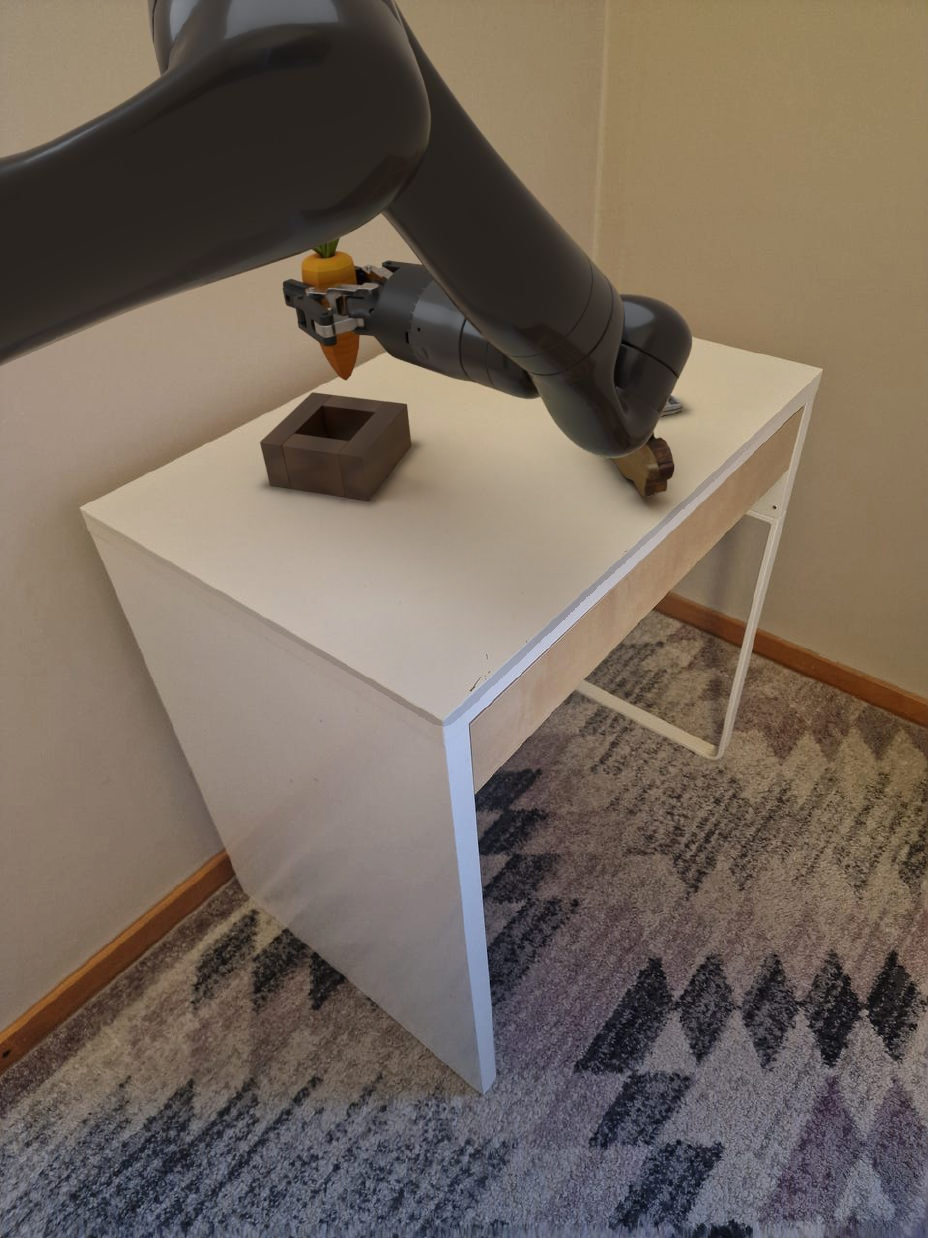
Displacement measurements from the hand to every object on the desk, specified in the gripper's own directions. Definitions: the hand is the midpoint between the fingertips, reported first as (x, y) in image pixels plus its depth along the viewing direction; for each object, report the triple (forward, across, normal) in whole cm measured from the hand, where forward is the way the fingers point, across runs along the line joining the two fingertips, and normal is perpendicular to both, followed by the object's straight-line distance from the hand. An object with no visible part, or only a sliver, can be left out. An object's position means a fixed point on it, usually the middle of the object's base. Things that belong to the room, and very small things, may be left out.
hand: (311, 282), depth 76 cm
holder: (+1, -1, +20) cm, 20 cm away
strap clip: (-17, -29, +20) cm, 39 cm away
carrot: (-3, 0, +9) cm, 9 cm away
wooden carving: (-23, -19, +20) cm, 35 cm away
